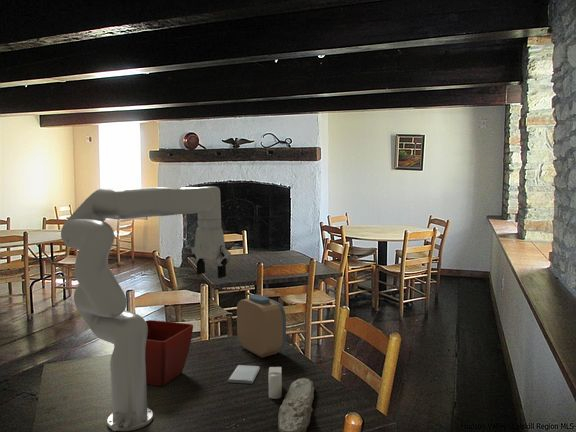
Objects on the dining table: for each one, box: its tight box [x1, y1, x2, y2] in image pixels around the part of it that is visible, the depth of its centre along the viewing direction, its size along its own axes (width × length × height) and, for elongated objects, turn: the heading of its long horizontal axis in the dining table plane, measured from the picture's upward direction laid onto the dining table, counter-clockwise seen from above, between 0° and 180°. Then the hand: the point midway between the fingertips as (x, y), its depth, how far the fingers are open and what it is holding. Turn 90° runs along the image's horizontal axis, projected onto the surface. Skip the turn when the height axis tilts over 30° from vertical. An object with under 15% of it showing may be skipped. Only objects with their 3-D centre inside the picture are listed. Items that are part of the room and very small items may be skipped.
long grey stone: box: [277, 377, 315, 432], centre depth 152 cm, size 35×5×10 cm
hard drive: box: [227, 364, 261, 385], centre depth 177 cm, size 2×8×12 cm
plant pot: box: [145, 319, 194, 387], centre depth 175 cm, size 19×19×17 cm
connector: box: [267, 366, 283, 400], centre depth 164 cm, size 11×4×7 cm, turn 0°
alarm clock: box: [236, 293, 287, 358], centre depth 199 cm, size 21×10×22 cm, turn 37°
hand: (211, 275), depth 169 cm, fingers open, 9 cm apart
